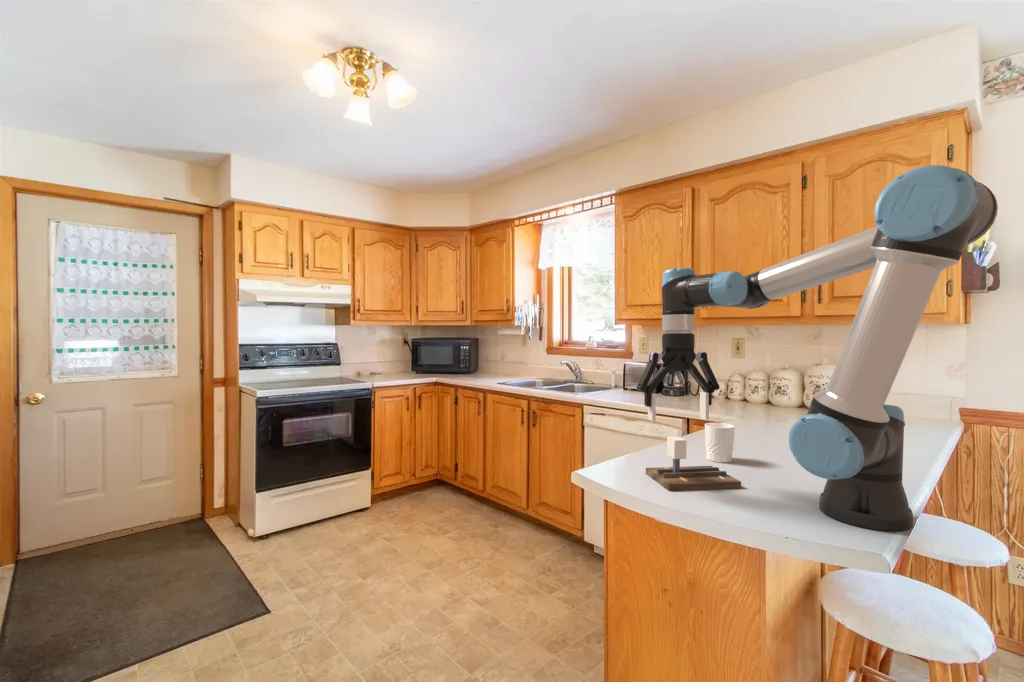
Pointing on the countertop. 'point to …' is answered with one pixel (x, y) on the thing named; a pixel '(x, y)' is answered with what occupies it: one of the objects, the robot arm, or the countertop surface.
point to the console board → (693, 478)
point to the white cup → (719, 442)
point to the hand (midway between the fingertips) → (678, 419)
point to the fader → (676, 451)
